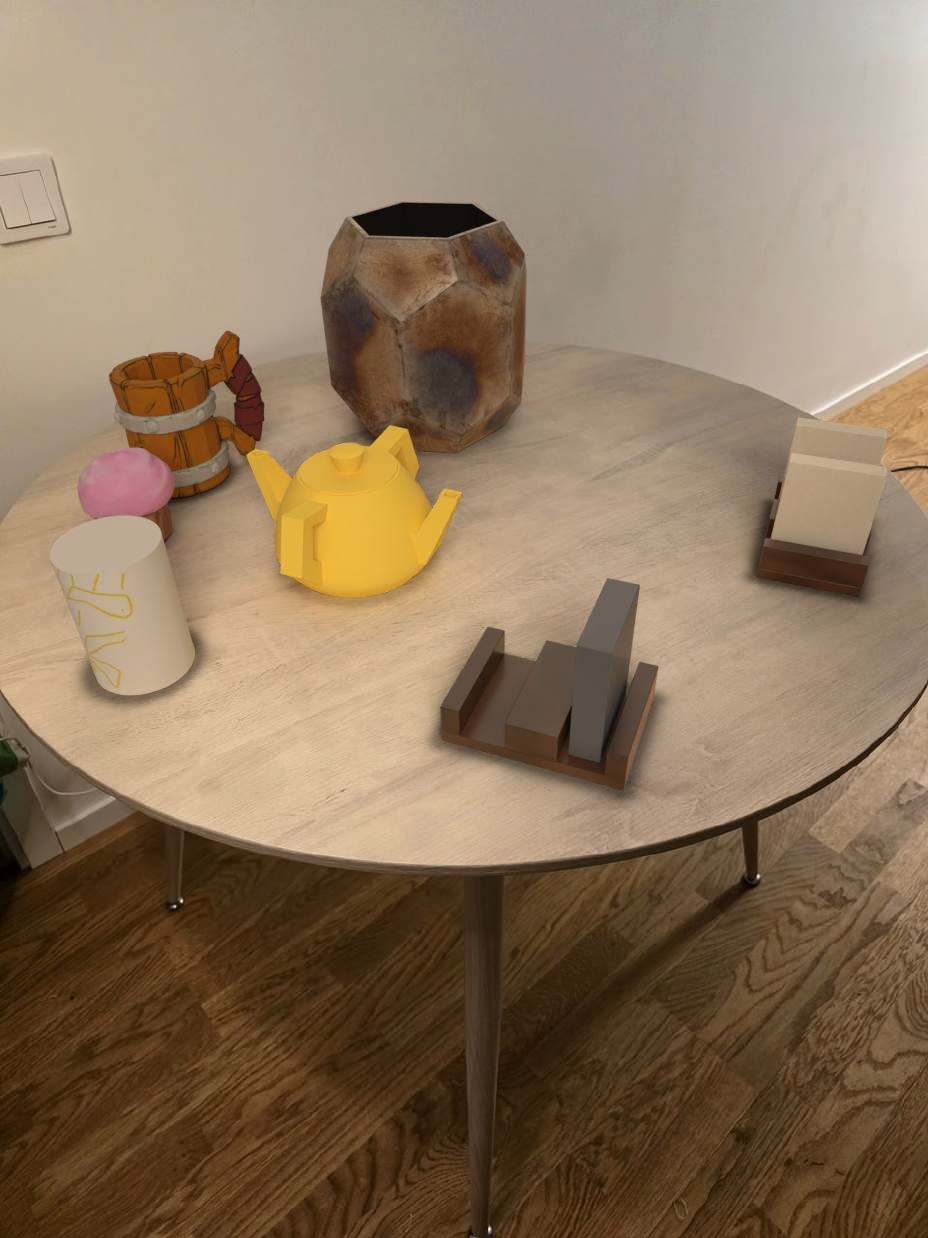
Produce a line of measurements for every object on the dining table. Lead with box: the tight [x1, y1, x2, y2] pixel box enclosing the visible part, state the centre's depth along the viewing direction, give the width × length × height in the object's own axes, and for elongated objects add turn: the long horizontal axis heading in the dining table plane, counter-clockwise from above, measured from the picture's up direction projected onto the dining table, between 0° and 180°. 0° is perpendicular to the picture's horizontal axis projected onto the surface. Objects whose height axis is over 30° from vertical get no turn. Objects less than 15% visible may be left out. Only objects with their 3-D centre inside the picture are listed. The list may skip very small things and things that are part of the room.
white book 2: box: [771, 453, 889, 555], centre depth 78 cm, size 8×2×10 cm, turn 68°
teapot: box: [246, 425, 463, 599], centre depth 81 cm, size 17×17×12 cm
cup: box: [49, 515, 196, 696], centre depth 69 cm, size 8×8×12 cm
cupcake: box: [77, 447, 175, 541], centre depth 84 cm, size 9×9×10 cm
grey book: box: [568, 577, 641, 763], centre depth 62 cm, size 2×8×10 cm, turn 158°
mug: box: [108, 330, 265, 499], centre depth 95 cm, size 11×16×15 cm, turn 120°
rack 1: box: [439, 626, 659, 791], centre depth 66 cm, size 14×10×4 cm
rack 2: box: [756, 474, 872, 598], centre depth 83 cm, size 9×14×4 cm, turn 158°
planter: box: [320, 200, 528, 454], centre depth 100 cm, size 22×24×24 cm
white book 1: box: [779, 417, 889, 500], centre depth 83 cm, size 2×8×10 cm, turn 68°
